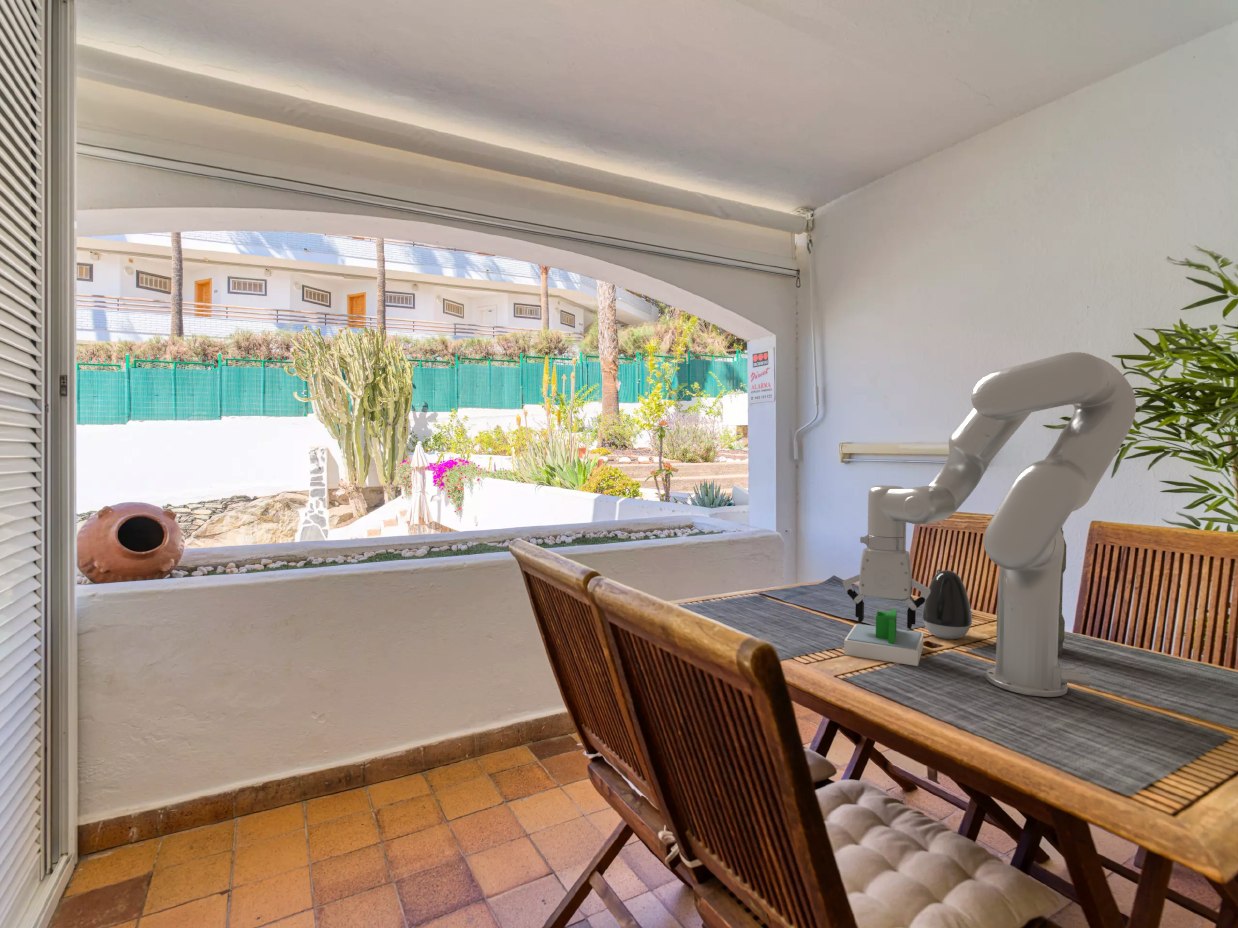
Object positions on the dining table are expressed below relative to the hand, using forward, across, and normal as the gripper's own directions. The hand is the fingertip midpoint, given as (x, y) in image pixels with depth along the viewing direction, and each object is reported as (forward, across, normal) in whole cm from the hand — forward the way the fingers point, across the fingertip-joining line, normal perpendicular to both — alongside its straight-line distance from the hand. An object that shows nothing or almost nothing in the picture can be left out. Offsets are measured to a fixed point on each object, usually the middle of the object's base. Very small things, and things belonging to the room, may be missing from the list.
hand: (884, 624), depth 137 cm
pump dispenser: (+6, +11, +19) cm, 23 cm away
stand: (+6, 0, 0) cm, 6 cm away
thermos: (+6, +29, +19) cm, 35 cm away
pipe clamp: (+3, 0, 0) cm, 3 cm away
